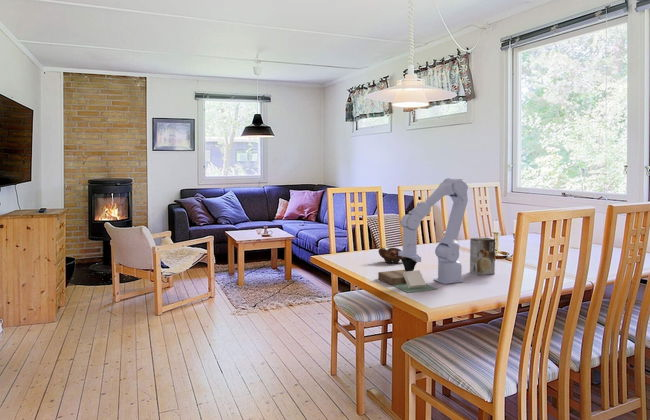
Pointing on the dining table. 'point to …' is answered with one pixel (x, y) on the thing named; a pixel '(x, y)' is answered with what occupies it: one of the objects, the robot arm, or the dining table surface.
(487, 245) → the coffee box
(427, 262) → the dining table surface
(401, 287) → the rubber mat
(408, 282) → the coaster
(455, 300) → the dining table surface
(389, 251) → the decorative turtle
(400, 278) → the walnut step
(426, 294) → the dining table surface
